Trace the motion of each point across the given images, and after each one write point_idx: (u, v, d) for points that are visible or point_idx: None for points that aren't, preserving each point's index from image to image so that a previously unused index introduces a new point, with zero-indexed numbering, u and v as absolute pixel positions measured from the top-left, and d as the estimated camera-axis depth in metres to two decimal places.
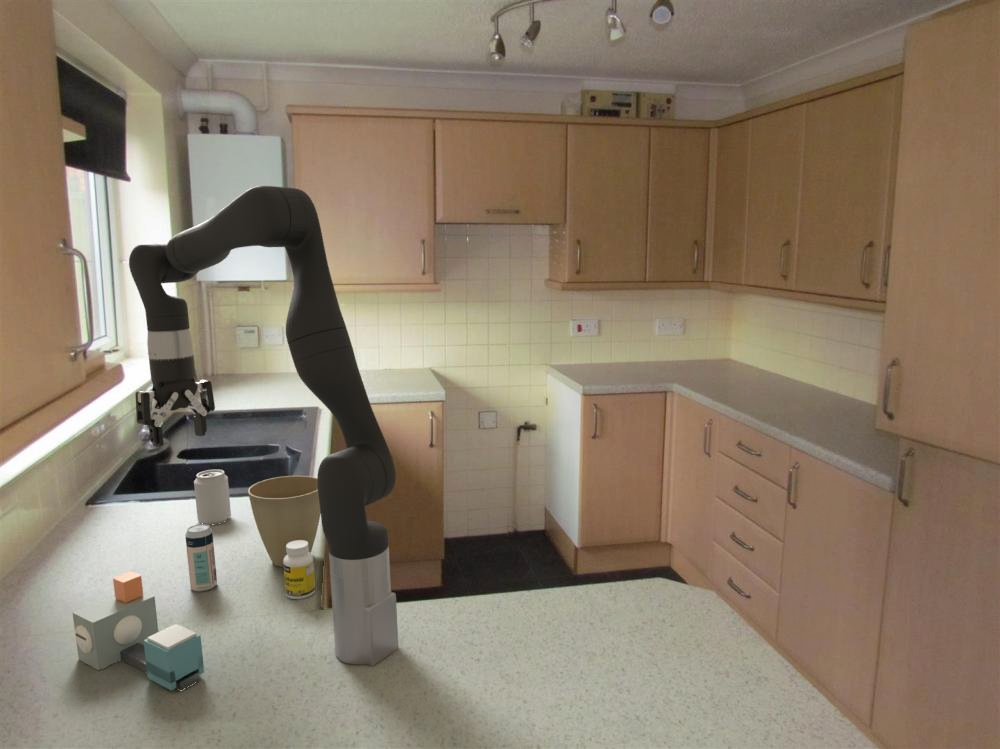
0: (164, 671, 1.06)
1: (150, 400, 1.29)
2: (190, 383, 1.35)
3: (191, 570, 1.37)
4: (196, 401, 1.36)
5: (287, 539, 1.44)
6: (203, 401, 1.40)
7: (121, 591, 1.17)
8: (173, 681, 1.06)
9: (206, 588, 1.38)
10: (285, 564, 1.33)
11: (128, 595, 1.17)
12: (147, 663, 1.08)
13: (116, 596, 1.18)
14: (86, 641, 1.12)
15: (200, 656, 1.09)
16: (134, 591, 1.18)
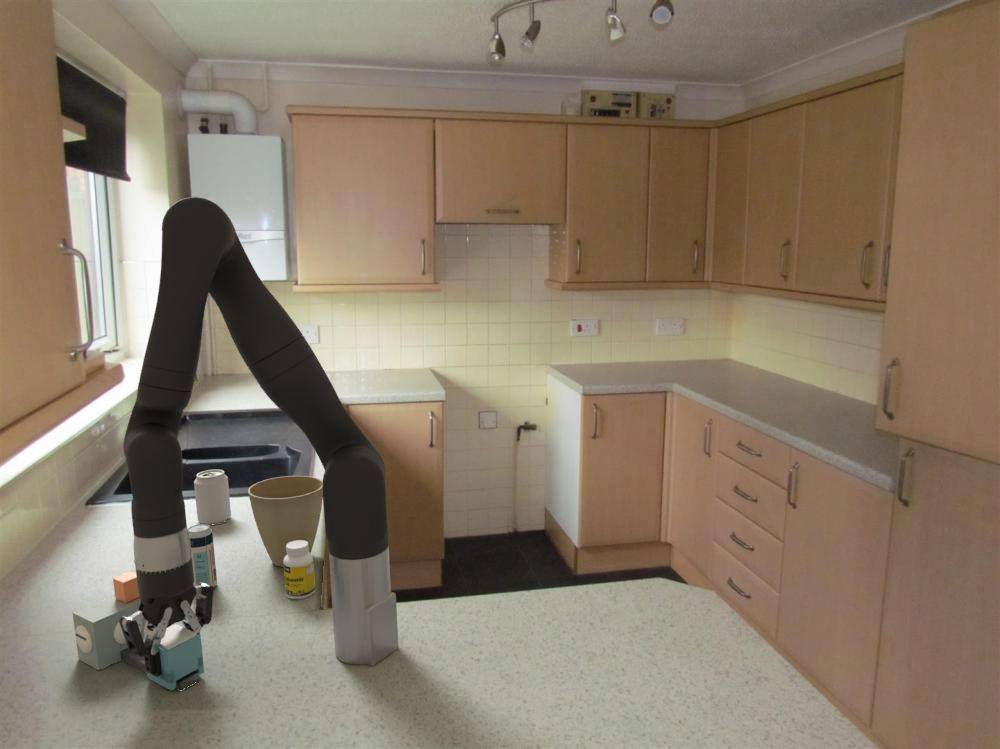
0: (164, 671, 1.06)
1: (139, 627, 1.03)
2: (189, 588, 1.09)
3: None
4: (192, 614, 1.09)
5: (287, 539, 1.44)
6: (198, 609, 1.13)
7: (121, 591, 1.17)
8: (173, 681, 1.06)
9: None
10: (285, 564, 1.33)
11: (128, 595, 1.17)
12: None
13: (116, 596, 1.18)
14: (86, 641, 1.12)
15: (200, 656, 1.09)
16: (134, 591, 1.18)
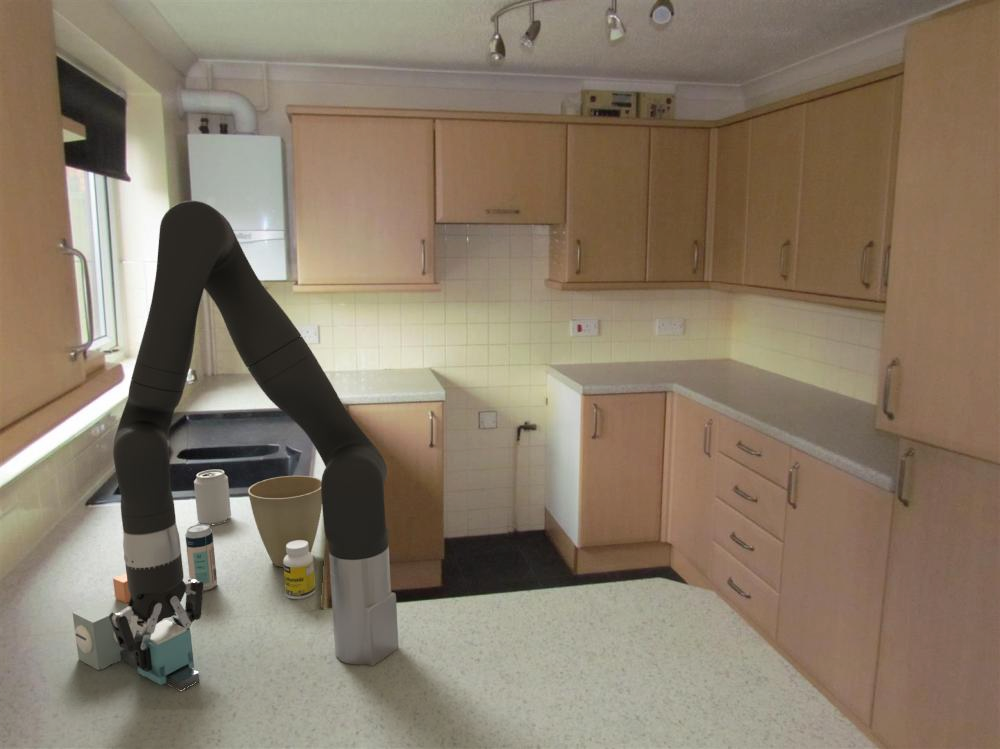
0: (154, 666, 1.07)
1: (129, 622, 1.04)
2: (178, 584, 1.10)
3: (191, 570, 1.37)
4: (181, 610, 1.10)
5: (287, 539, 1.44)
6: (188, 605, 1.14)
7: (121, 591, 1.17)
8: (163, 676, 1.07)
9: (206, 588, 1.38)
10: (285, 564, 1.33)
11: (128, 595, 1.17)
12: None
13: (116, 596, 1.18)
14: (86, 641, 1.12)
15: (190, 652, 1.11)
16: None
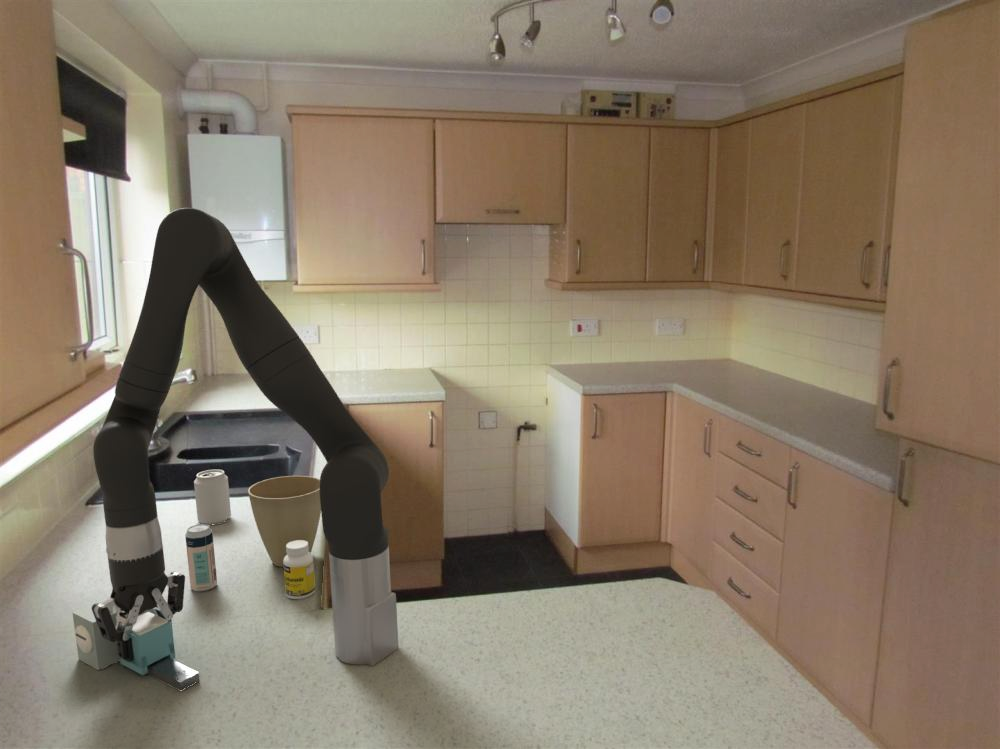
0: (136, 656, 1.10)
1: (111, 613, 1.07)
2: (160, 577, 1.13)
3: (191, 570, 1.37)
4: (163, 602, 1.13)
5: (287, 539, 1.44)
6: (170, 598, 1.17)
7: None
8: (144, 666, 1.10)
9: (206, 588, 1.38)
10: (285, 564, 1.33)
11: None
12: None
13: None
14: (86, 641, 1.12)
15: (172, 643, 1.13)
16: None
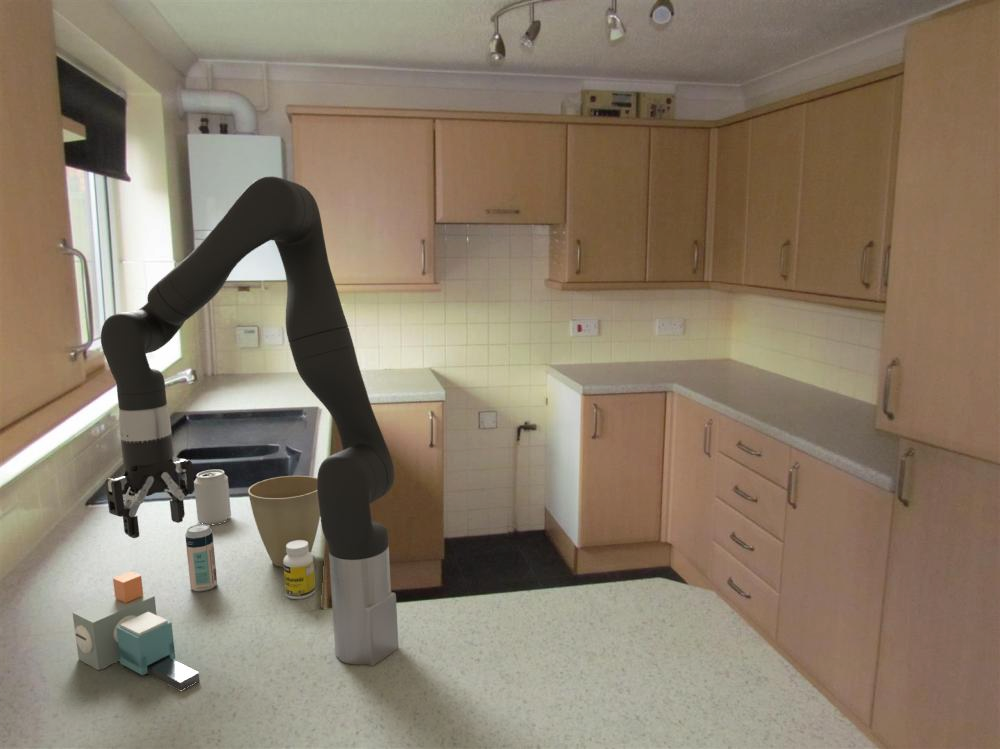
0: (136, 656, 1.10)
1: (122, 488, 1.15)
2: (168, 463, 1.21)
3: (191, 570, 1.37)
4: (173, 484, 1.22)
5: (287, 539, 1.44)
6: (181, 482, 1.26)
7: (121, 591, 1.17)
8: (144, 666, 1.10)
9: (206, 588, 1.38)
10: (285, 564, 1.33)
11: (128, 595, 1.17)
12: (120, 649, 1.12)
13: (116, 596, 1.18)
14: (86, 641, 1.12)
15: (172, 643, 1.13)
16: (134, 591, 1.18)
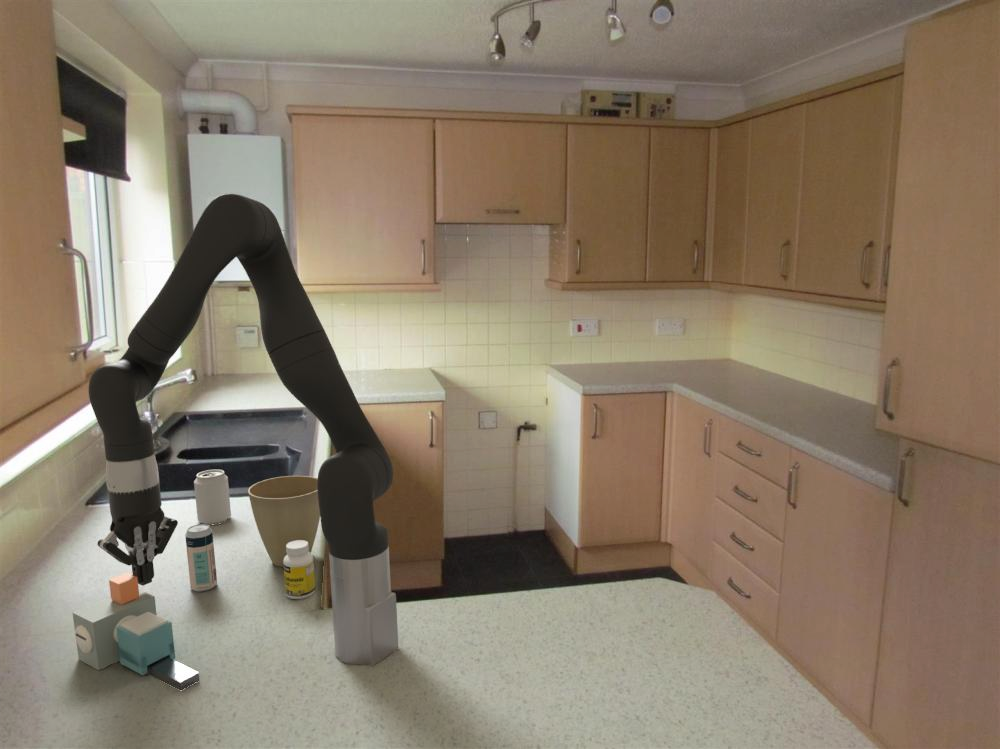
0: (136, 656, 1.10)
1: (116, 545, 1.15)
2: (159, 510, 1.21)
3: (191, 570, 1.37)
4: (153, 539, 1.20)
5: (287, 539, 1.44)
6: (155, 540, 1.23)
7: (117, 593, 1.16)
8: (144, 666, 1.10)
9: (206, 588, 1.38)
10: (285, 564, 1.33)
11: (124, 596, 1.16)
12: (120, 649, 1.12)
13: (112, 597, 1.17)
14: (86, 641, 1.12)
15: (172, 643, 1.13)
16: (130, 592, 1.17)
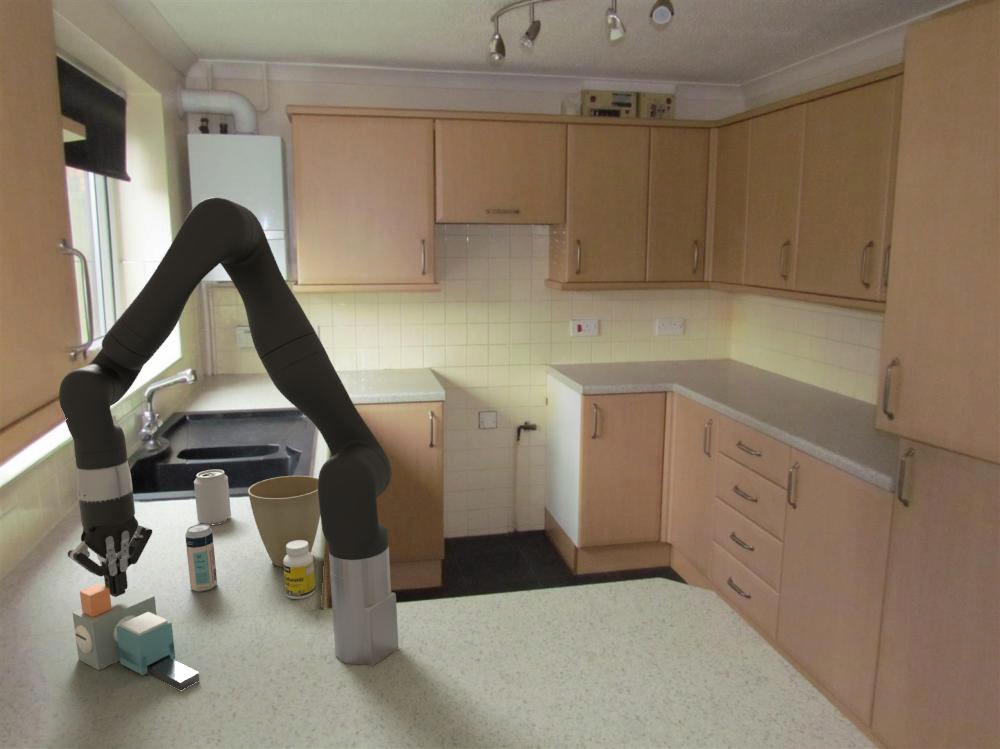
0: (136, 656, 1.10)
1: (87, 556, 1.11)
2: (133, 519, 1.17)
3: (191, 570, 1.37)
4: (126, 549, 1.16)
5: (286, 539, 1.44)
6: (129, 550, 1.19)
7: (88, 605, 1.12)
8: (144, 666, 1.10)
9: (206, 588, 1.38)
10: (285, 564, 1.33)
11: (96, 608, 1.13)
12: (120, 649, 1.12)
13: (83, 609, 1.14)
14: (86, 641, 1.12)
15: (172, 643, 1.13)
16: (102, 604, 1.13)
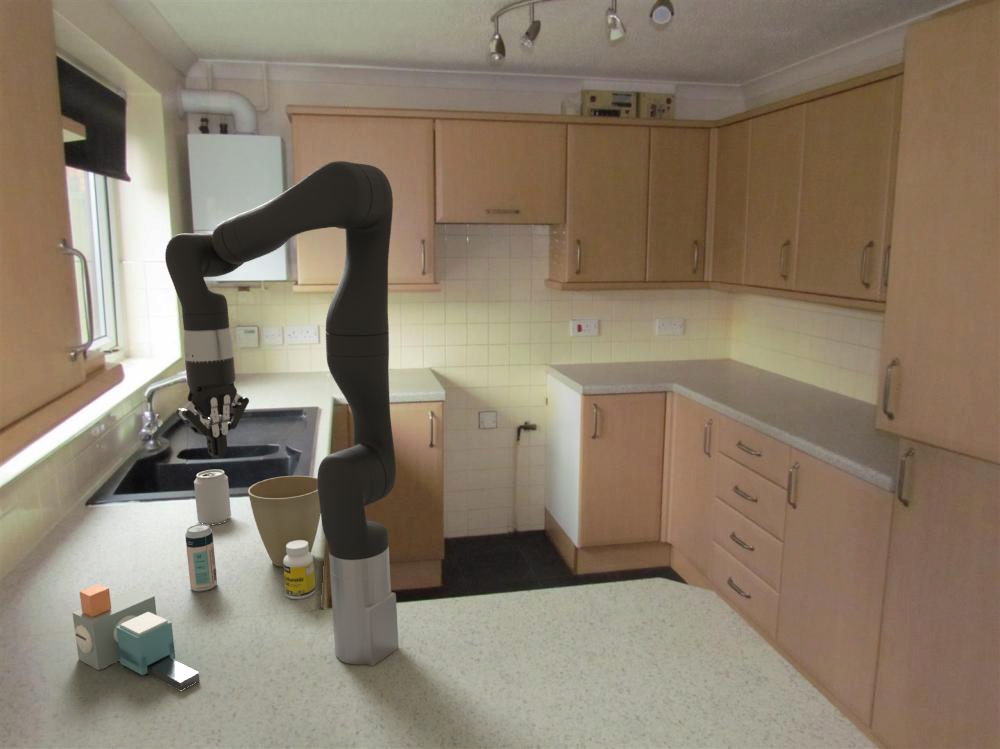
0: (136, 656, 1.10)
1: (195, 414, 1.18)
2: (233, 386, 1.24)
3: (191, 570, 1.37)
4: (227, 413, 1.22)
5: (287, 539, 1.44)
6: None
7: (88, 605, 1.12)
8: (144, 666, 1.10)
9: (206, 588, 1.38)
10: (285, 564, 1.33)
11: (95, 608, 1.12)
12: (120, 649, 1.12)
13: (83, 610, 1.13)
14: (86, 641, 1.12)
15: (172, 643, 1.13)
16: (101, 604, 1.13)
